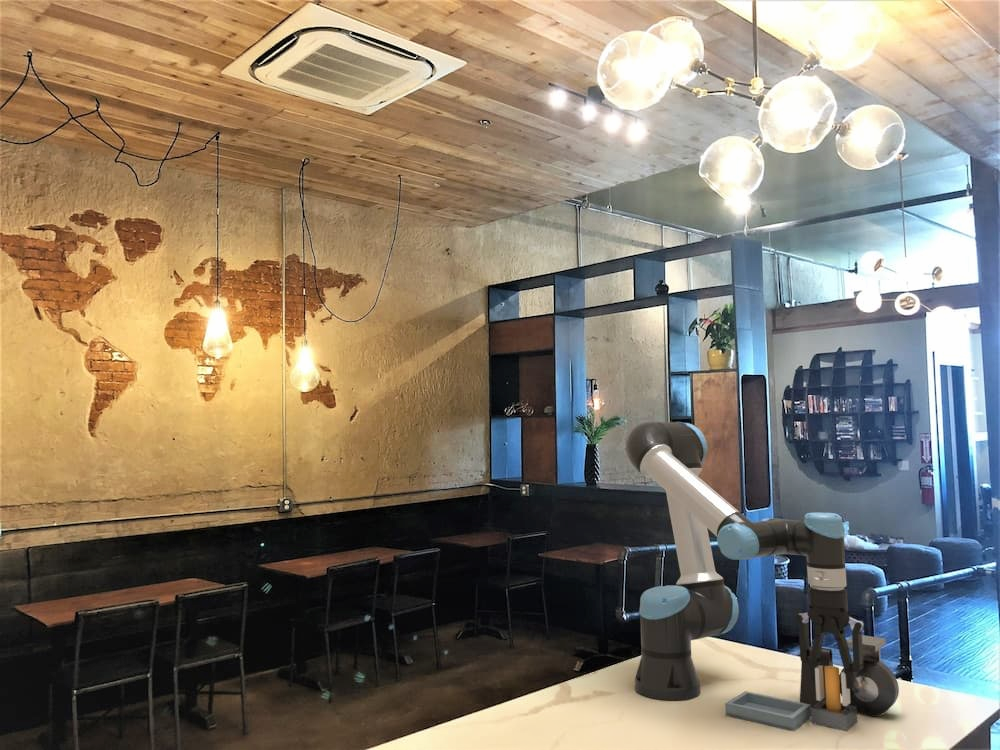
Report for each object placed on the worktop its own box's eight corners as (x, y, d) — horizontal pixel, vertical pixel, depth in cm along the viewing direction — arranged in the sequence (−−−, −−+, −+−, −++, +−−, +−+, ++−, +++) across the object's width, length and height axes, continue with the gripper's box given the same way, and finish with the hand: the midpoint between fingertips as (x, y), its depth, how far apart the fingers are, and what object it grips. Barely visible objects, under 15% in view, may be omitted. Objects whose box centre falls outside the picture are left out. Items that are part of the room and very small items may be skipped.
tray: (725, 715, 162) (725, 703, 162) (745, 702, 169) (745, 691, 170) (793, 731, 152) (792, 718, 152) (811, 716, 160) (810, 704, 160)
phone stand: (828, 711, 164) (825, 654, 165) (799, 705, 167) (796, 649, 168) (838, 699, 171) (835, 645, 172) (811, 694, 174) (808, 641, 175)
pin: (825, 722, 157) (822, 668, 158) (829, 718, 159) (826, 665, 160) (839, 725, 155) (836, 670, 156) (843, 721, 157) (840, 667, 158)
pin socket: (811, 723, 156) (810, 708, 157) (822, 713, 162) (821, 699, 162) (847, 731, 152) (846, 715, 152) (857, 721, 157) (856, 706, 157)
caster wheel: (836, 712, 163) (833, 639, 164) (848, 702, 169) (844, 632, 170) (892, 723, 155) (888, 647, 157) (902, 713, 162) (898, 640, 163)
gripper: (779, 585, 162) (784, 697, 160) (866, 594, 151) (873, 715, 149) (791, 580, 168) (797, 688, 166) (877, 589, 157) (884, 705, 154)
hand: (833, 701), depth 157 cm, fingers open, 4 cm apart
